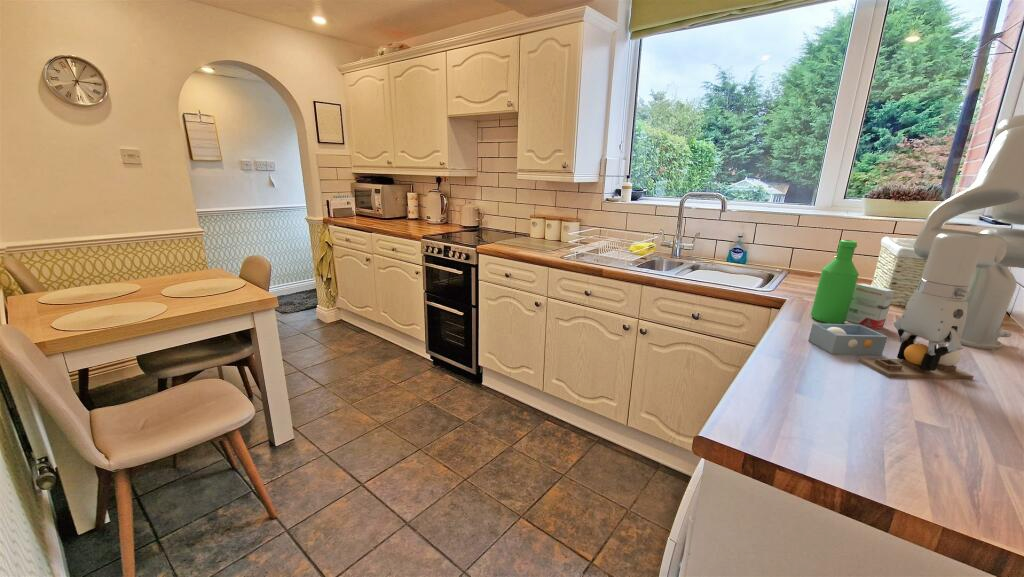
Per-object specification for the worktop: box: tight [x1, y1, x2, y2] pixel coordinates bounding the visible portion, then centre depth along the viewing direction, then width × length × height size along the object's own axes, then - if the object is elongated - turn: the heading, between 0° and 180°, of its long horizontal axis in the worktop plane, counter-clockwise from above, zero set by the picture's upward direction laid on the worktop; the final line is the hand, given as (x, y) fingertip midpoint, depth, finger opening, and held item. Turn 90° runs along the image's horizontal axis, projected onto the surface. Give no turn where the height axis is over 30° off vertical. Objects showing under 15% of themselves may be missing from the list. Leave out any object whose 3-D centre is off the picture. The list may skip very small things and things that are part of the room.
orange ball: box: [904, 343, 929, 365], centre depth 96 cm, size 5×5×5 cm
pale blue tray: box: [807, 322, 889, 356], centre depth 108 cm, size 13×8×5 cm, turn 92°
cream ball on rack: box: [937, 344, 962, 366], centre depth 96 cm, size 5×5×5 cm
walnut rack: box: [858, 357, 974, 380], centre depth 97 cm, size 20×8×2 cm, turn 92°
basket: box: [870, 236, 927, 307], centre depth 150 cm, size 27×27×22 cm
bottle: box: [810, 239, 860, 324], centre depth 125 cm, size 9×9×25 cm
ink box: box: [846, 283, 895, 330], centre depth 126 cm, size 8×5×12 cm, turn 26°
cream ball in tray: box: [827, 327, 847, 335], centre depth 107 cm, size 5×5×5 cm
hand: (915, 363), depth 97 cm, fingers closed on orange ball, 4 cm apart
